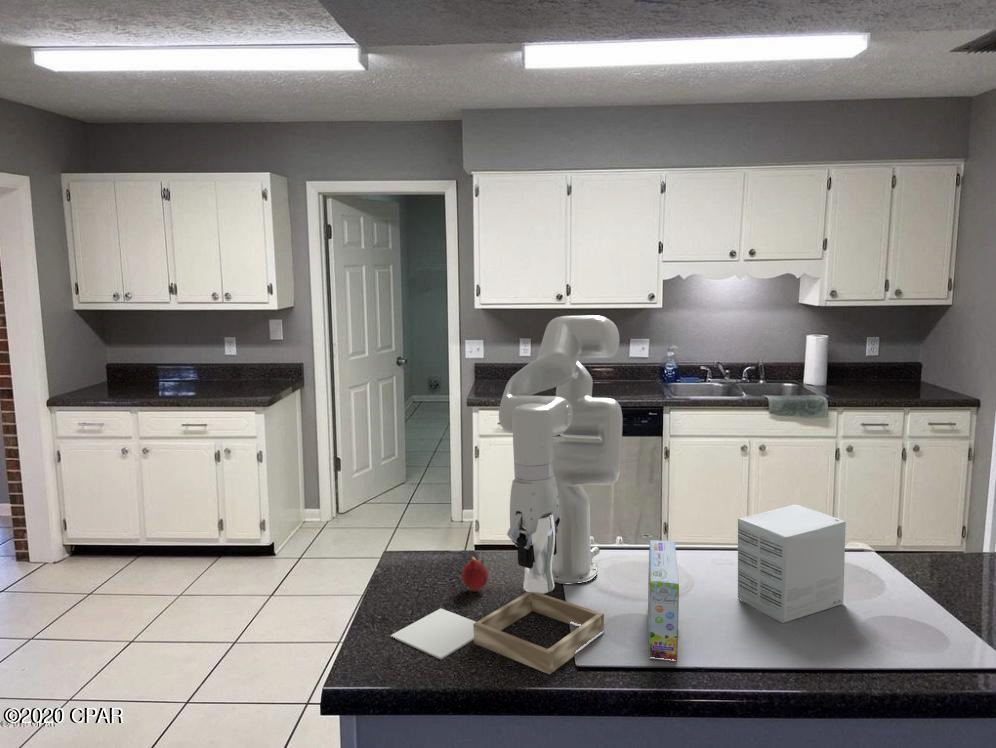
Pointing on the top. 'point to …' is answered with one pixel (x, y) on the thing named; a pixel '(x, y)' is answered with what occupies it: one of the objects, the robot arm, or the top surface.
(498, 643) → the wooden frame
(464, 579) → the onion
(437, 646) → the mat
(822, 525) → the supplement box
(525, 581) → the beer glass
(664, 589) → the snack box
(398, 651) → the top surface
